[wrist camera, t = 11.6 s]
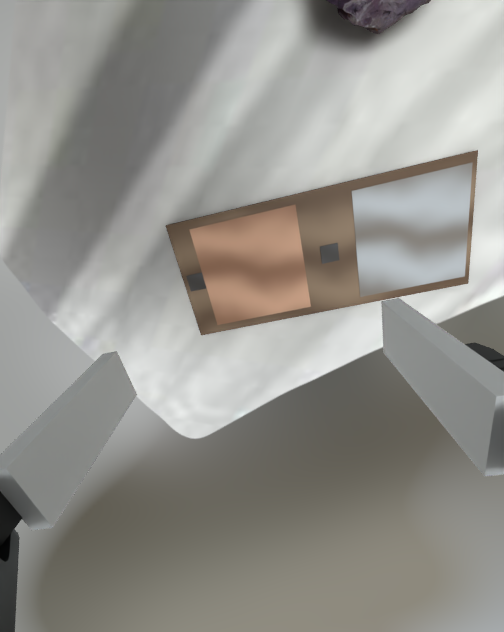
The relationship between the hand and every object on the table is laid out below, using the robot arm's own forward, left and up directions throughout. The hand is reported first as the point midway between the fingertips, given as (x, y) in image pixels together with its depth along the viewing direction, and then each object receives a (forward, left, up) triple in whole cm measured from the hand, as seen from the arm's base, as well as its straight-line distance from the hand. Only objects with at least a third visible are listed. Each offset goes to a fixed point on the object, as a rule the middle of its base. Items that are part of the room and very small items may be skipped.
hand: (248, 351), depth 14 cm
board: (+1, +8, -21) cm, 22 cm away
